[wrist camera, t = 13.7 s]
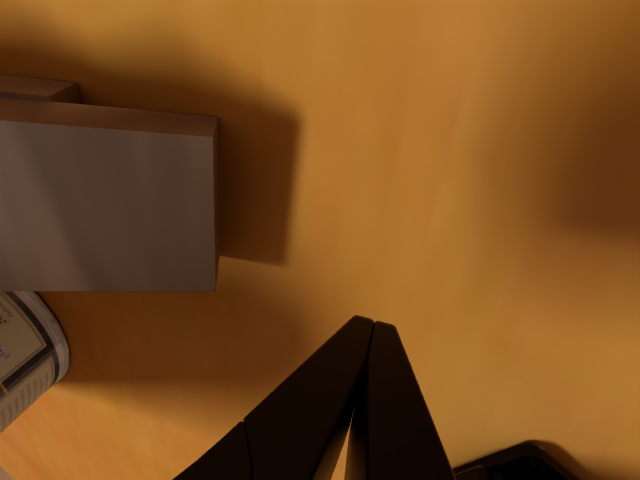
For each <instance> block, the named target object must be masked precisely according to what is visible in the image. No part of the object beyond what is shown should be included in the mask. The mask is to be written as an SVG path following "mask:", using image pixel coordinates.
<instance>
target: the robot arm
mask: <svg viewBox="0 0 640 480" xmlns="http://www.w3.org/2000/svg"><path fill="white" fill-rule="evenodd" d="M353 411H354V412H353ZM352 415H353V416H352ZM351 419H352V421H351ZM350 423H351V426H350ZM349 426H350V433H349V440H348V449H347V459H346V469H345V478H344V480H578V479H577V478H576V477H575V476H573V475H572V474H571V473H570V472H568V471H567V470H566V469H565V468H564V467H562V466H561V465H560V464H559V463H557V462H556V461H555V460H554V459H553V458H551V457H550V456H549V455H548V454H546V453H545V452H544V451H543V450H542V449H540V448H538V447H536V446H533V445H521V446H518V447H515V448H512V449H509V450H507V451H504V452H501V453H499V454H496V455H493V456H491V457H488V458H485V459H483V460H480V461H477V462H474V463H472V464H469V465H466V466H464V467H461V468H458V469H456V470H452V468H451V465H450V463H449V460H448V458H447V455H446V453H445V450H444V448H443V445H442V443H441V440H440V438H439V435H438V432H437V430H436V427H435V425H434V422H433V420H432V417H431V415H430V412H429V410H428V407H427V405H426V402H425V400H424V397H423V395H422V392H421V390H420V387H419V385H418V382H417V379H416V377H415V374H414V372H413V369H412V367H411V364H410V362H409V359H408V357H407V354H406V352H405V349H404V347H403V344H402V342H401V339H400V337H399V334H398V331H397V329H396V327H395V326H394V325H392V324H388V323H384V322H381V321H376V322H375V323H374V321H373V320H372V319H370V318H366V317H362V316H358V315H355V316H353V317H352V318H351V319H350V320H349V321H348V322H347V323H346V324H344V325H343V326H342V327H341V328H340V329H339V330H338V331H337V332H336V333H335V334H334V335H333V336H332V337H330V338H329V339H328V340H327V341H326V342H325V343H324V344H323V345H322V346H321V347H320V348H319V349H318V350H317V351H315V352H314V353H313V354H312V355H311V356H310V357H309V358H308V359H307V360H306V361H305V362H304V363H303V364H301V365H300V366H299V367H298V368H297V369H296V370H295V371H294V372H293V373H292V374H291V375H290V376H289V377H288V378H286V379H285V380H284V381H283V382H282V383H281V384H280V385H279V386H278V387H277V388H276V389H275V390H274V391H273V392H271V393H270V394H269V395H268V396H267V397H266V398H265V399H264V400H263V401H262V402H261V403H260V404H259V405H257V406H256V407H255V408H254V409H253V410H252V411H251V412H250V413H249V414H248V415H247V416H246V417H245V418H244V419H243V422H242V421H241V422H239V423H238V424H237V425H236V426H235V427H234V428H233V429H231V430H230V431H229V432H228V433H227V434H226V435H225V436H224V437H223V438H222V439H221V440H219V441H218V442H217V443H216V444H215V445H214V446H213V447H211V448H210V449H209V450H208V451H207V452H206V453H205V454H203V455H202V456H201V457H200V458H199V459H198V460H197V461H195V462H194V463H193V464H192V465H190V466H189V467H188V468H187V469H185V470H184V471H183V472H181V473H180V474H179V475H178V476H176V477H175V478H174V479H172V480H331V478H332V475H333V472H334V469H335V467H336V464H337V461H338V458H339V456H340V453H341V450H342V447H343V445H344V442H345V439H346V436H347V433H348V430H349Z"/></svg>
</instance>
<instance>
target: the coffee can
mask: <svg viewBox="0 0 640 480" xmlns="http://www.w3.org/2000/svg"><path fill="white" fill-rule="evenodd" d="M69 358H70V356H69V348H68V344H67V342H66V339H65V336H64V334H63V331H62V329H61V327H60V325H59V324H58V322H57V320H56V318H55V316H54V315H53V314H52V313H51V312H50V310H49V309H48V308H47V306H46V305H45V304H44V303H43V301H42V300H41V298H40V297H39V296H38V295H37V294H36V293H35V292H34V291H0V433H1V432H3V431H4V430H5V429H6V428H7V427H8V426H9V425H10V424H11V423H12V422H13V421H14V420H15V419H17V418H18V417H19V416H20V415H21V414H22V413H23V412H24V411H25V410H26V409H27V408H28V407H29V406H31V405H32V404H33V403H34V402H35V401H36V400H37V399H38V398H39V397H40V396H41V395H42V394H43V393H44V392H46V391H47V390H48V389H49V388H50V387H51V386H52V385H53V384H55V383H57V382H58V381H59V380H61V379H62V378H63V377H64V375H65V374H66V372H67V370H68V369H69Z"/></svg>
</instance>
